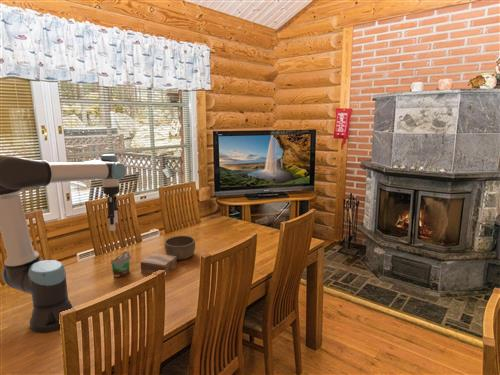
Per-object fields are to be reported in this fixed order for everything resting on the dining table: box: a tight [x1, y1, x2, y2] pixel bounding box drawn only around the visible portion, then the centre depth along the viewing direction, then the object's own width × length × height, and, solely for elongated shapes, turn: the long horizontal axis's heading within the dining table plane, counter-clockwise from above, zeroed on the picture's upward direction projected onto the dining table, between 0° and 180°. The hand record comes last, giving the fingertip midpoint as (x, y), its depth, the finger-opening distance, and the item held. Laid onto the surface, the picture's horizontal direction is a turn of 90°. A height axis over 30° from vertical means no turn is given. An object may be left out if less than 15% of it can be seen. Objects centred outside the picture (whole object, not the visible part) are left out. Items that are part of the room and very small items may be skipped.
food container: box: [110, 251, 132, 279], centre depth 170 cm, size 12×6×10 cm, turn 168°
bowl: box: [164, 235, 196, 261], centre depth 193 cm, size 17×18×10 cm
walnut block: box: [140, 252, 178, 276], centre depth 176 cm, size 12×14×6 cm
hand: (114, 226), depth 171 cm, fingers open, 13 cm apart
